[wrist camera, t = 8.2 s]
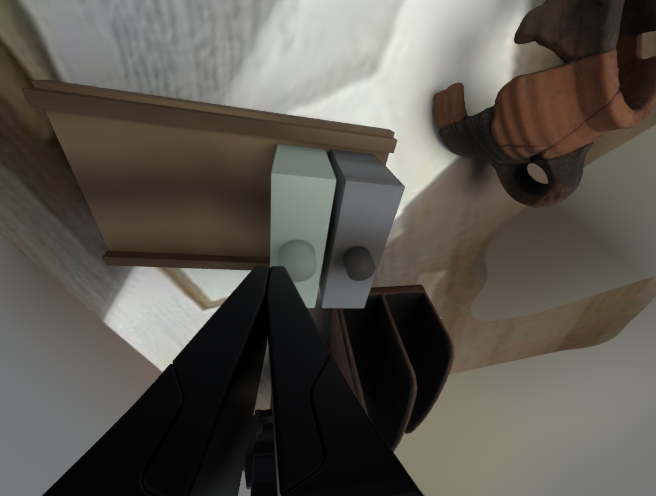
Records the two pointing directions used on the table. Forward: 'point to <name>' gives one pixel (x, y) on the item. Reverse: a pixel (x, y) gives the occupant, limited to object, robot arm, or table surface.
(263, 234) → the brown boxy piece
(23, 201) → the table surface
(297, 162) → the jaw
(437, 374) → the letter holder
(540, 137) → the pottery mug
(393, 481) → the robot arm
